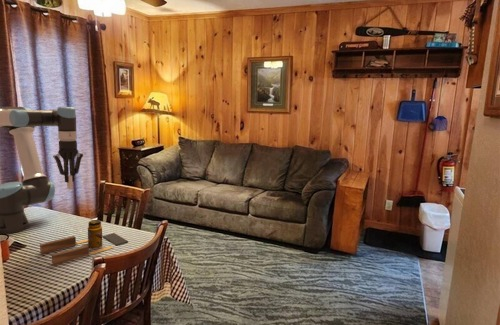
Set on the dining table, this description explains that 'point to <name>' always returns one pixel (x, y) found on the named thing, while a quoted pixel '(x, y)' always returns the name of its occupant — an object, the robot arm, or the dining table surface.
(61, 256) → the parallel wooden rails
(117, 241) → the mat
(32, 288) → the dining table surface
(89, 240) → the condiment
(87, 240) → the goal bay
